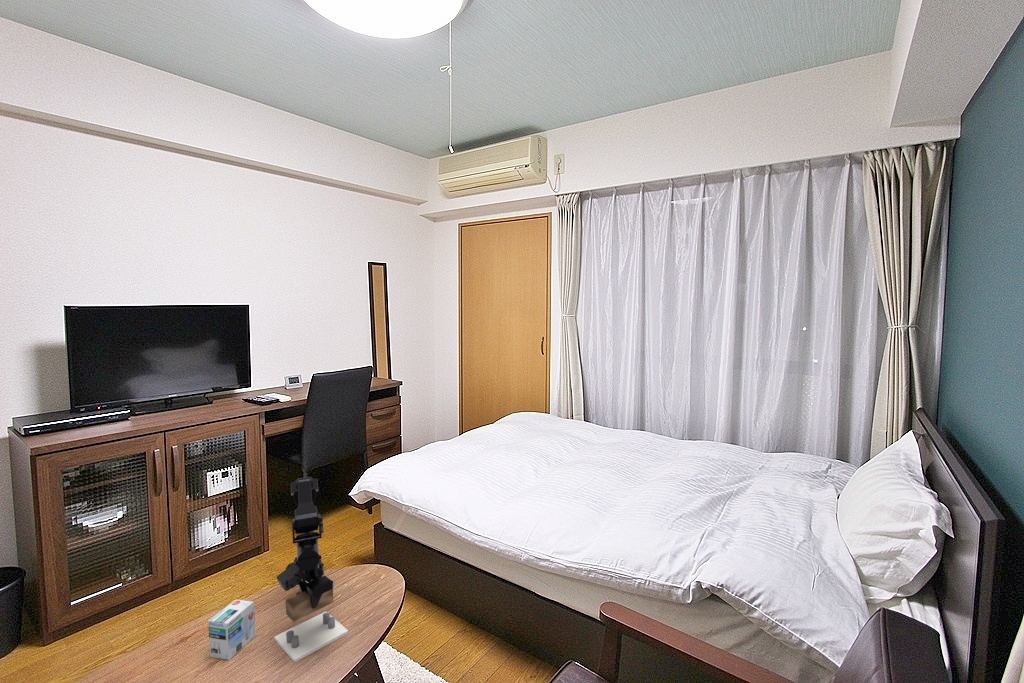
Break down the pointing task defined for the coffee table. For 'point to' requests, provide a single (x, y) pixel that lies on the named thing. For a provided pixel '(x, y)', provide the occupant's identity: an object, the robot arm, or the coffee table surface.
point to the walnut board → (305, 604)
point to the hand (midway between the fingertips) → (310, 604)
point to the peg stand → (310, 636)
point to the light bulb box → (231, 629)
